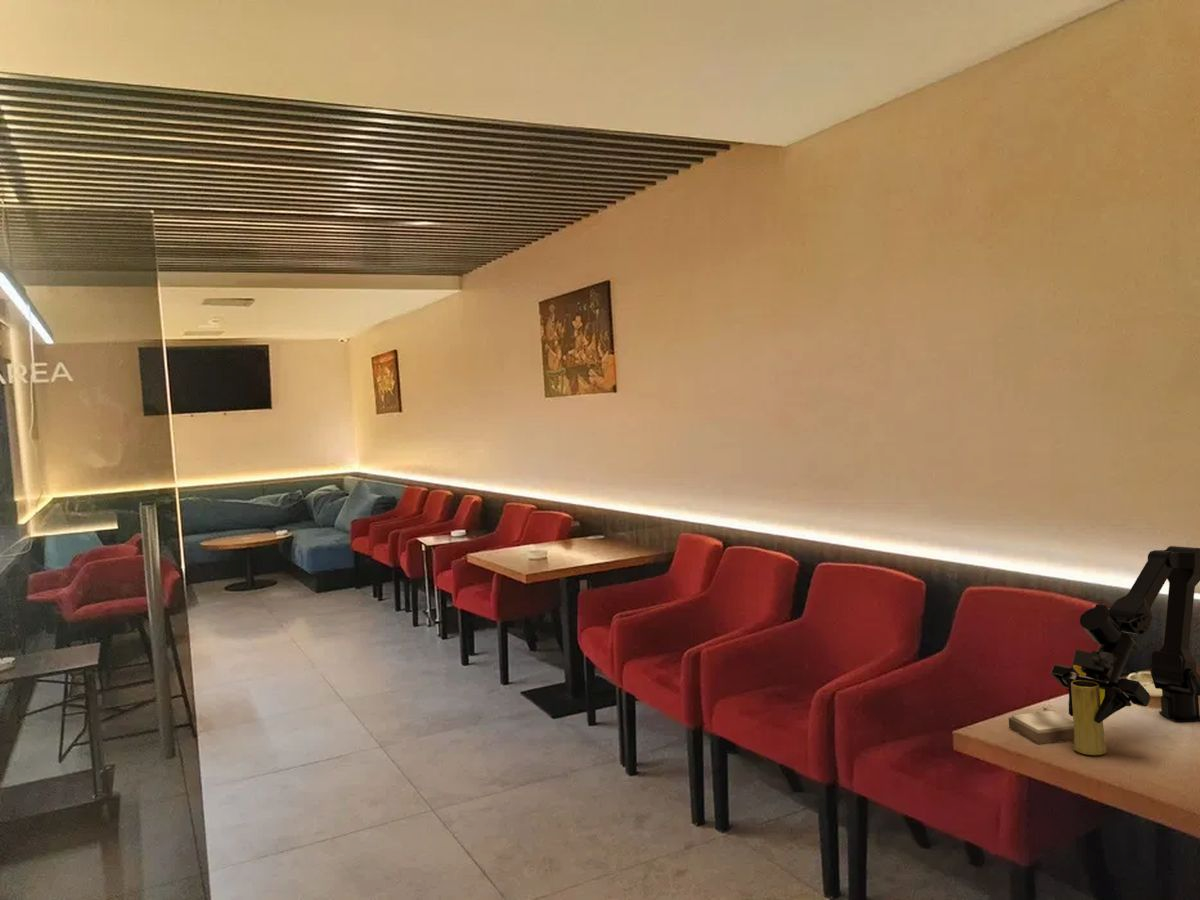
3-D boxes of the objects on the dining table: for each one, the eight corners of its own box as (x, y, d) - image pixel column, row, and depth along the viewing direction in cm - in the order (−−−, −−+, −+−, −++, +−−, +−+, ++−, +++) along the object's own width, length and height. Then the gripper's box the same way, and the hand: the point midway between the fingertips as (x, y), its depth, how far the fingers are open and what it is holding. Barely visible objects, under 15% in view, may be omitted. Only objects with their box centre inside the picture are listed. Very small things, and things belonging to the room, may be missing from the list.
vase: (1095, 758, 176) (1089, 689, 175) (1067, 749, 181) (1062, 683, 181) (1113, 750, 178) (1107, 683, 178) (1084, 742, 184) (1080, 677, 184)
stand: (1053, 722, 198) (1052, 710, 198) (1085, 738, 187) (1084, 725, 187) (1009, 727, 197) (1008, 715, 196) (1038, 744, 186) (1037, 730, 186)
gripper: (1052, 628, 189) (1023, 687, 185) (1137, 643, 173) (1108, 708, 168) (1077, 656, 193) (1049, 715, 188) (1163, 673, 176) (1135, 738, 172)
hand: (1083, 718), depth 179 cm, fingers closed on vase, 5 cm apart
